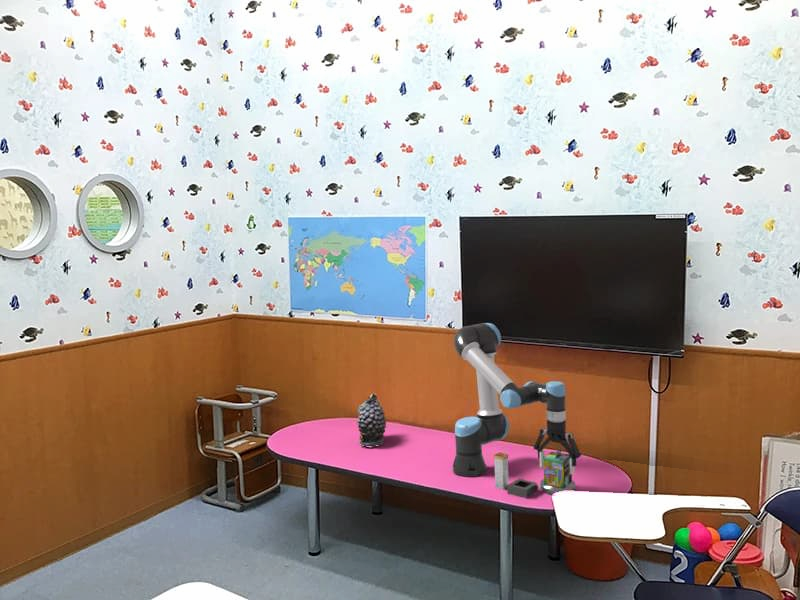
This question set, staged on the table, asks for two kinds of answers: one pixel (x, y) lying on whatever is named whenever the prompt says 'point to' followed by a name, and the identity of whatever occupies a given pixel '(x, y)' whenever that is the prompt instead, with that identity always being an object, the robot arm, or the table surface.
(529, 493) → the socket
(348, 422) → the table surface
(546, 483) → the chalk box
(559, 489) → the rosette disc
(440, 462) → the table surface
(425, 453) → the table surface
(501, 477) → the white rectangular box
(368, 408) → the dark pine cone
